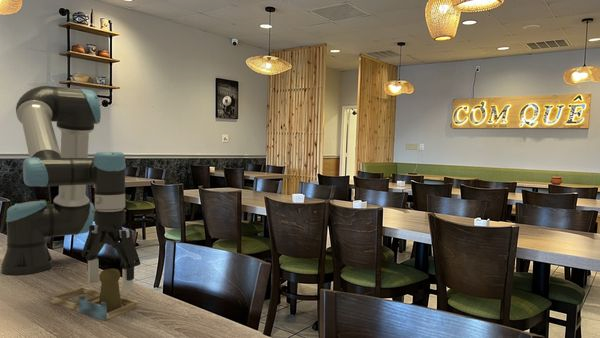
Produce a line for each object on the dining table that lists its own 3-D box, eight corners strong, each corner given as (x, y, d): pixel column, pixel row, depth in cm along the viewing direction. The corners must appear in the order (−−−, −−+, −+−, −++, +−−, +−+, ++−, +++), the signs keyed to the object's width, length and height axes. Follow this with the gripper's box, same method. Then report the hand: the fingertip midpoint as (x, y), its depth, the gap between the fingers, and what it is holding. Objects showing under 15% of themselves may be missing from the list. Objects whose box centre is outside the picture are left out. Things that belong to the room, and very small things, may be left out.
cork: (112, 315, 112) (112, 273, 111) (92, 312, 113) (92, 271, 112) (126, 306, 117) (126, 267, 117) (107, 304, 119) (107, 265, 118)
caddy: (48, 303, 118) (48, 287, 118) (83, 291, 128) (83, 277, 128) (104, 320, 108) (104, 303, 108) (138, 306, 117) (138, 291, 117)
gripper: (67, 207, 116) (67, 283, 117) (131, 216, 105) (131, 300, 106) (91, 203, 123) (91, 276, 124) (154, 212, 111) (154, 291, 112)
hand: (110, 287), depth 115 cm, fingers open, 13 cm apart
